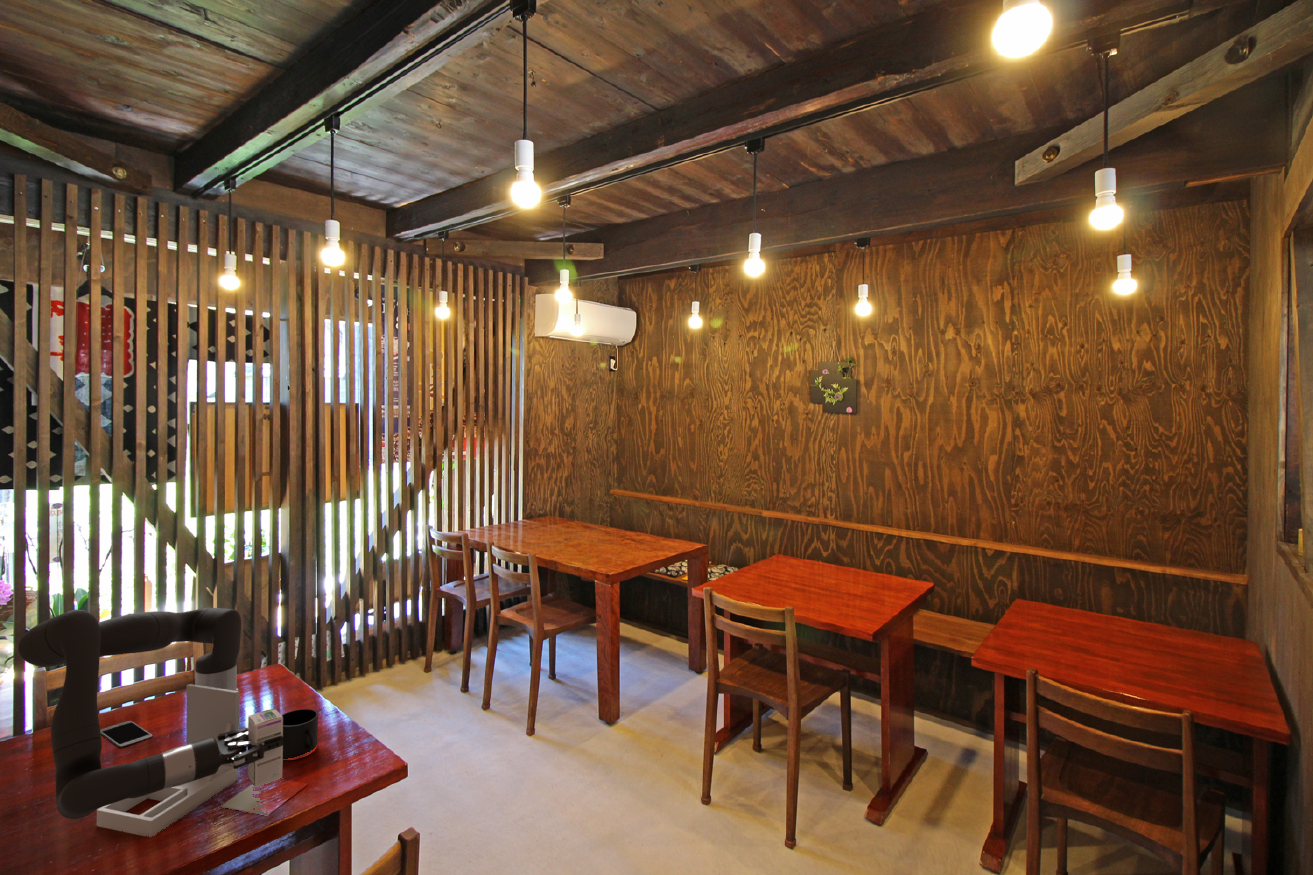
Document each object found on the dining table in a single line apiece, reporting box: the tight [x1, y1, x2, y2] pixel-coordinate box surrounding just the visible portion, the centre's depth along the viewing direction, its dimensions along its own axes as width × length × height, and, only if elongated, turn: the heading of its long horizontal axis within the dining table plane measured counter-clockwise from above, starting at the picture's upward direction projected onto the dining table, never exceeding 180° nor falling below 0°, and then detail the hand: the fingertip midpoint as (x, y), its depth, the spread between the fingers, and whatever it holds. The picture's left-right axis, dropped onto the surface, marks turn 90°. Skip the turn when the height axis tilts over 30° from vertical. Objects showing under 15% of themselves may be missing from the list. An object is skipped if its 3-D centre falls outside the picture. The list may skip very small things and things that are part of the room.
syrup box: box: [247, 708, 284, 787], centre depth 143 cm, size 6×6×14 cm
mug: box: [280, 708, 319, 759], centre depth 161 cm, size 9×12×9 cm
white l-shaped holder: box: [96, 683, 240, 838], centre depth 140 cm, size 21×14×22 cm
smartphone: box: [100, 720, 154, 749], centre depth 167 cm, size 7×15×1 cm, turn 59°
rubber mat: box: [220, 783, 268, 815], centre depth 144 cm, size 12×12×1 cm
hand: (277, 735), depth 145 cm, fingers closed on syrup box, 5 cm apart
